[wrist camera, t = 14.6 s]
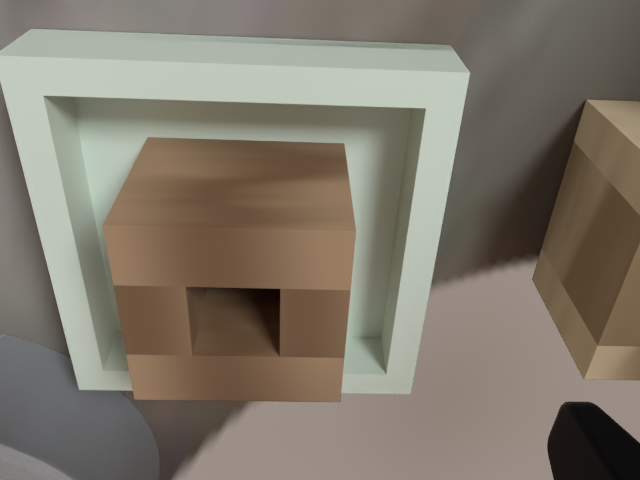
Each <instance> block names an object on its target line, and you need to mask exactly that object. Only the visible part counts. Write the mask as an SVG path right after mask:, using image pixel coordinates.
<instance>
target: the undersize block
mask: <svg viewBox="0 0 640 480" xmlns="http://www.w3.org/2000/svg"><path fill="white" fill-rule="evenodd" d="M102 226H103V231H104V237H105V242H106V248H107V253H108V259H109V264H110V270H111V275H112V280H113V286H114V291H115V297H116V302H117V308H118V313H119V319H120V324H121V330H122V335H123V340H124V346H125V351H126V357H127V362H128V368H129V373H130V379H131V384H132V390H133V395H134V400H211V401H290V402H291V401H292V402H340V400H341V389H342V379H343V368H344V357H345V346H346V336H347V325H348V314H349V303H350V292H351V282H352V271H353V260H354V249H355V239H356V226H355V219H354V211H353V204H352V196H351V189H350V182H349V174H348V167H347V159H346V152H345V144H344V143H316V142H285V141H253V140H222V139H190V138H158V137H148V138H147V140H146V142H145V144H144V146H143V147H142V149H141V151H140V153H139V155H138V157H137V159H136V161H135V163H134V165H133V167H132V169H131V171H130V172H129V174H128V176H127V178H126V180H125V182H124V184H123V186H122V188H121V190H120V192H119V194H118V196H117V198H116V199H115V201H114V203H113V205H112V207H111V209H110V211H109V213H108V215H107V217H106V219H105V221H104V223H103V225H102Z"/></svg>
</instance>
